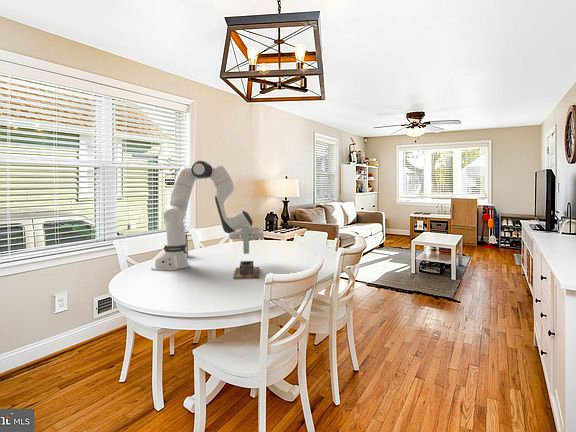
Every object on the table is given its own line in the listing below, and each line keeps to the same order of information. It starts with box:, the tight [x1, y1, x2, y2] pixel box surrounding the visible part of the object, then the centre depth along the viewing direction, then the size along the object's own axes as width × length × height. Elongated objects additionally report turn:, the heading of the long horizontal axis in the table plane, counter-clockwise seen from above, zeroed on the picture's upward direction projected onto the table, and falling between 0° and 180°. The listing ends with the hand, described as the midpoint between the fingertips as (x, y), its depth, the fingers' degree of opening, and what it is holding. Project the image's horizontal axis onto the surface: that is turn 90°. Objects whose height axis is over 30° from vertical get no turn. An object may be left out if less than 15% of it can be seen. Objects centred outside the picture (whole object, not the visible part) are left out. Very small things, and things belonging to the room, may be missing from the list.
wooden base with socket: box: [233, 260, 260, 280], centre depth 194 cm, size 14×20×6 cm
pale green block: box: [242, 225, 250, 255], centre depth 192 cm, size 3×6×16 cm, turn 5°
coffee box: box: [185, 233, 189, 257], centre depth 241 cm, size 9×6×16 cm
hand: (246, 237), depth 191 cm, fingers closed on pale green block, 3 cm apart
